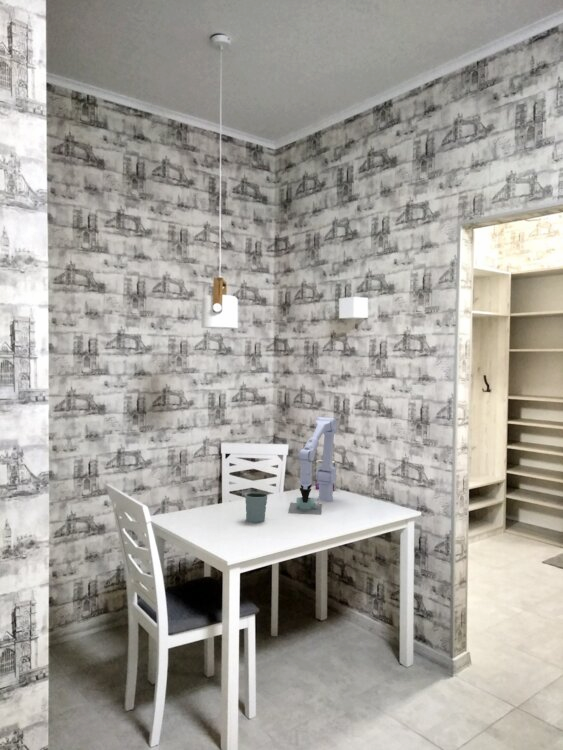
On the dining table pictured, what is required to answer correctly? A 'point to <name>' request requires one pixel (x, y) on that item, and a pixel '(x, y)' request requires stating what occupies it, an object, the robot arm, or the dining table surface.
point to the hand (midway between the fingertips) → (305, 500)
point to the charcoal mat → (304, 510)
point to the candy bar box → (319, 463)
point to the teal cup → (255, 507)
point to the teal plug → (308, 505)
